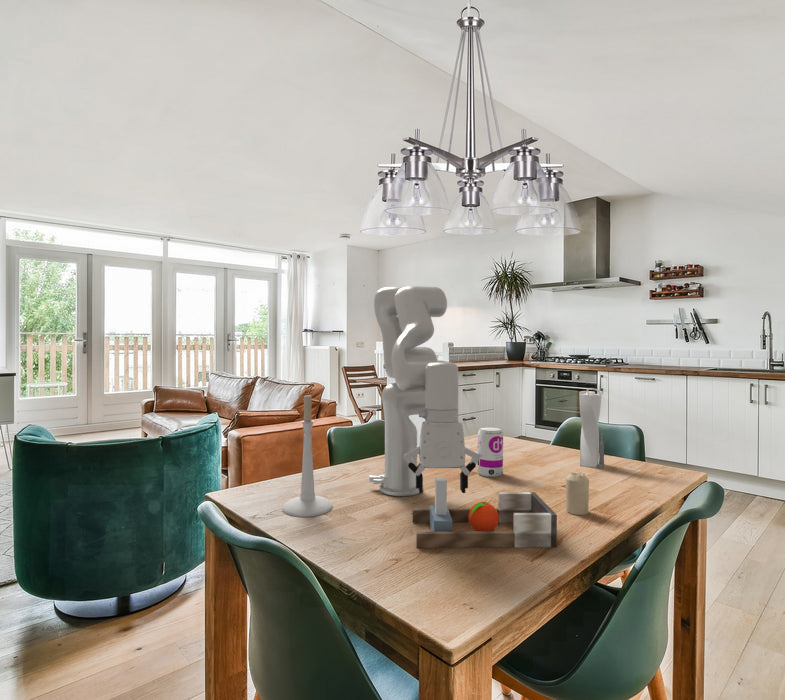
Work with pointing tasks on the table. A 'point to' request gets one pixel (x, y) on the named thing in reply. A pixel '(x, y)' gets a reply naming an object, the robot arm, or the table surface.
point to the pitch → (521, 508)
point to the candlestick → (307, 476)
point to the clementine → (483, 517)
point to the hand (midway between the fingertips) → (441, 491)
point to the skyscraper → (590, 430)
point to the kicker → (440, 508)
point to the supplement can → (490, 451)
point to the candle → (577, 494)
